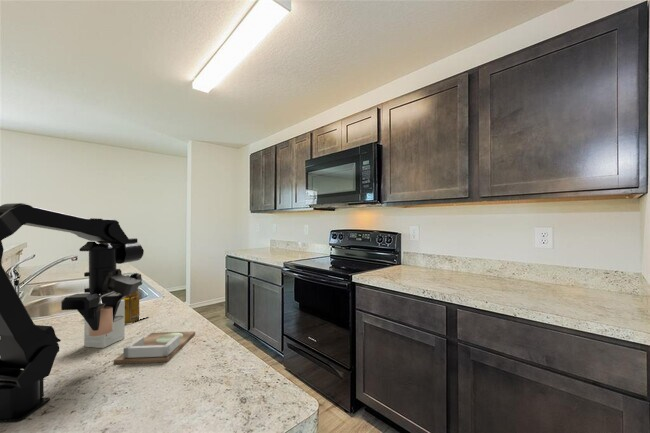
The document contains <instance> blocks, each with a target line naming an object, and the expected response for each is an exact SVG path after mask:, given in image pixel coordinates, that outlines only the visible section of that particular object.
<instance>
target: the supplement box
mask: <svg viewBox="0 0 650 433" xmlns="http://www.w3.org/2000/svg"><path fill="white" fill-rule="evenodd" d="M101 303H102V301H101ZM83 319H84V318H83ZM125 325H126V324H125V300H121V302H120V304H119V307H118V310H117V312H116V315H115V318H114V321H113V331H112V332H110V333H107V334H104V335H100V336H89V330H88V323H87V321H86V320H85V319H84V324H83V326H84V329H83V330H84V337H83V339H84V340H83V344H84V347H87V348H88V347H89V348H96V349H97V348H98V349H105V348H106V347H109V346H110V345H113V344H115V343H118V342H119V341H121V340H124V339H125V336H126V335H125V332H126V331H125Z"/></svg>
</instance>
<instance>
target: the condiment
mask: <svg viewBox="0 0 650 433" xmlns="http://www.w3.org/2000/svg"><path fill="white" fill-rule="evenodd" d="M122 300H125V325H127V326H129V325H131V324H132V325H133V323H132V322H134V323H136V322H135V321H137V320H139V316H140V295H139V288H138V289H137V292H136V293H132V294H130V295H129V296H126V297H125V298H124V299H122ZM137 322H138V321H137Z"/></svg>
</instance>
